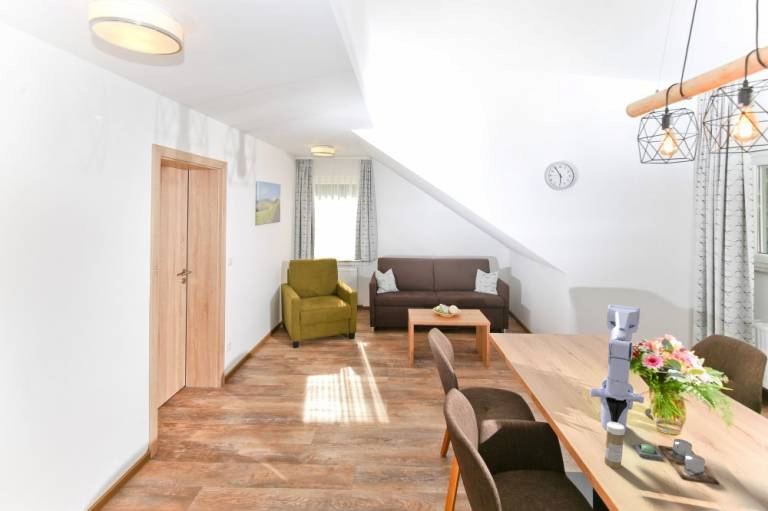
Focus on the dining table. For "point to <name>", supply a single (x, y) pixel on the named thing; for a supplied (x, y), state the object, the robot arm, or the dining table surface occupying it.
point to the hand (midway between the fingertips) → (614, 421)
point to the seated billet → (681, 449)
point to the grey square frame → (647, 455)
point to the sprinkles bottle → (614, 444)
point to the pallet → (674, 463)
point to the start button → (647, 448)
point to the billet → (694, 465)
